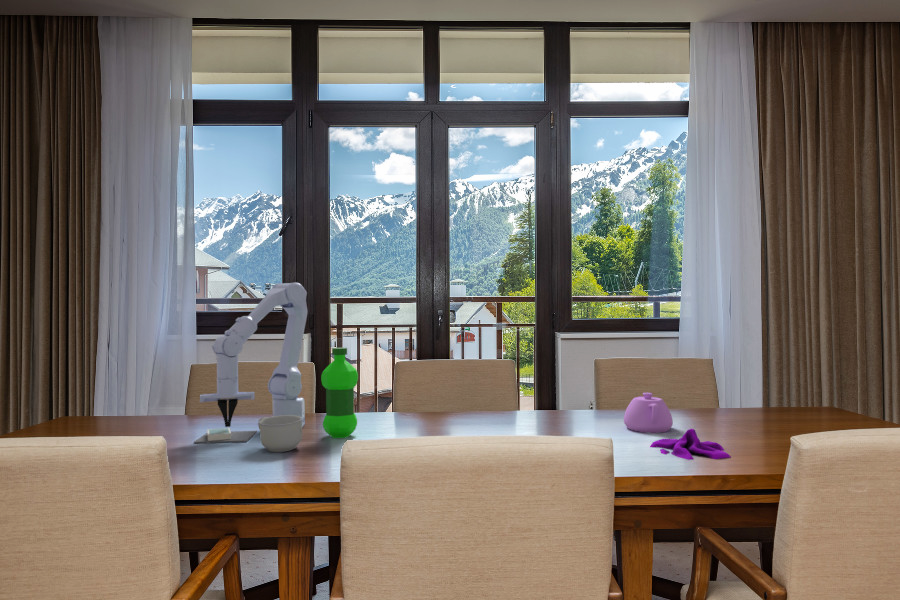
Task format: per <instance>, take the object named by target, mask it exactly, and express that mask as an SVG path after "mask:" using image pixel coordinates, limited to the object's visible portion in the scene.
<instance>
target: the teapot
mask: <svg viewBox="0 0 900 600" xmlns="http://www.w3.org/2000/svg"><path fill="white" fill-rule="evenodd" d="M642 395H643V396H642ZM642 395H641V396H640V395H639V396H636V397H634V398H632V400H631V401H630V403H629V404H628V406H627V407H626V409H625V413H624V416H623V423H624V426H626V428H627V429H628V428H629V430H630V429H631V430H630V431H633V430H634V431H633V432H637V431H640V432H639V433H646V432H650V433H651V434H652V433H656V434H659V433H666V432H669V430H670V429H671V428H672V427H673V424H674V423H673V421H674V420H673V417H672V413H671V410H670V409H669V407H668V405H667V404H666V403H665V401H664V400H663V398H661V397H660V398H659V397H656V396H653V393H652V392H643V393H642Z"/></svg>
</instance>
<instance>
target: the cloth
mask: <svg viewBox="0 0 900 600" xmlns="http://www.w3.org/2000/svg"><path fill="white" fill-rule="evenodd" d="M649 448H657V449H659V451H660V453H661V454H662V455H666V456H667V455H668V454H671V455H672V456H675V457H677V458H680V459H684V460H688V461H690V460H691V461H692V460H694V457H693V456H692V455H695V456H696V455H697V456H703V457H706V458H709V459H711V460H720V459H728V458H732V456H731V455H729V453H728V452H726V451H725V449H724V447H723V446H722V445H721V444H720V443H718V442H714V441H711V440H710V441H709V440H707V441H701V440H700V438H699V437H698V435H697V432H696V430H695V428H689V429H687V430H686V432H685V433H684V434H683V435H682V437H680V438H679V439H677V438H661V439H657V440H655V441H653V442H652V443H651V444H650V445H649ZM669 450H672V451H669Z"/></svg>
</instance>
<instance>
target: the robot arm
mask: <svg viewBox="0 0 900 600" xmlns="http://www.w3.org/2000/svg"><path fill="white" fill-rule="evenodd" d="M307 294H308V292H307V290H306V289H305V287H304V286H303V285H302V284H301V283H299V282H297V281H296V282H289V283H288V282H287V283H286V282H284V283H283V282H282V283H281V282H277V283H276V284H273V286H272V287H271V288H270V289H268V290H267V293H266V294H265V296H264V297H263V298H262V299H261V301H260V302H259V303H258V304H257V305H256V306H255V307H254V309H253V310H252V311H251V312H250V313H249V314H248V315H243V316H241V317H237V318H236V319H235V323H234V324H233V325H232V326H231V327H230V328H229V329H227V330H225V331H224V335H220V336H218V337H217V338H216V339H215V341H214V342H213V345H212V346H211V347H212V350H213V353H214V354H215V355H216V356H215V357H216V393H205V394H200V395H199V403H206V402H210V403H211V402H217V406H218V408H219V411H220V412H221V415H222V417H223V421H224V428H230V427H231V426H232V425H231V424H232V423H231V422H232V419H233V414H234V412H235V410H236V408H237V406H238V403H239V402H238V401H240V400H241V401H245V400H254V401H255V400H256V398H255V397H256V395H255V391H239V354H241V353H242V351H243V346H244V344H245V343H246V342H247V341H248V340H249V339H250V338H251V337H252V336H253V334H254V333H255V332H256V331H257V330H258V323H259V322H261V320H263V319H264V318H265V317H266V316H267V315H268V314H269V313H271V312H272V311H273V309H274V308H276V307H278V306H280V307H281V308H282V309H283V310H284V311H285V312H286V313H287V315H288V316H287V317H288V318H287V322H286V328H285V333H284V337H283V343H282V348H281V353H280V358H279V363H278V365H277V366H276V367H275V368H274V369H273V370H272V374H271V377H270V378H269V380H268V382H267V390H268V391H269V393H270V394H271V398H272V417H273V416H280V415H295V416H300V417H301V418H302V428H303V427H304V426H305V425H306V418H305V416H306V414H305V412H306V411H305V409H306V408H305V406H306V405H305V398H304V397H299V395H300V394H301V392H302V389H303V388H302V387H303V384H302V380H301V379H302V373H301V371H300V370H299V368H298V365H299V360H300V356H301V355H300V354H301V349H302V343H303V339H304V333H305V328H306V322H307V317H308V312H309V311H308V306H307Z"/></svg>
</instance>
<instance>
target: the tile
mask: <svg viewBox="0 0 900 600" xmlns="http://www.w3.org/2000/svg"><path fill="white" fill-rule="evenodd" d="M206 431H207V432H206V433H207V437H208V441H213V440H225V439H231V428H230V427H224V428H213V429H212V428H210V429H209V428H208V429H206Z"/></svg>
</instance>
